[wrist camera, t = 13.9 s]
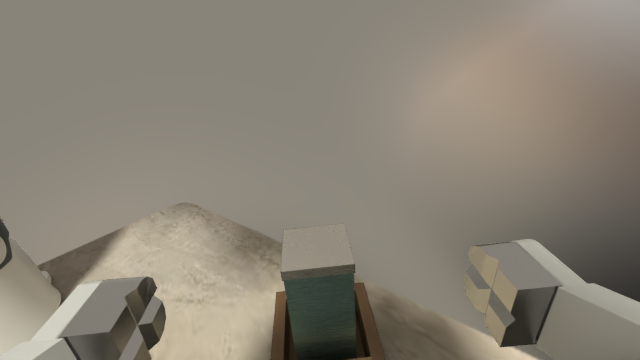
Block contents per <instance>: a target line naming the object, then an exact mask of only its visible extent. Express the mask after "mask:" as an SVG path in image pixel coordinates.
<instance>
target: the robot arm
mask: <svg viewBox="0 0 640 360" xmlns="http://www.w3.org/2000/svg"><path fill="white" fill-rule="evenodd" d="M468 259H469V260H470V261H471V263H472V265H471V266H470V267H469V268H468V269H467V270H466V271H465V276H464V286H465V292H466V294H467V296H468V299H469V301H470V302H471V304H472V305H473V307H474V308H475V309H477V310H478V311H480V312H481V313H483V314H485V319H484V324H485V325H486V327H487V328H488V330H489V331H490V333H491V334H492V336H493V337H494V339H495V340H496V342H497V343H498V345H499V346H500V347H510V346H521V345H535V344H536V347H537V348H539V349H540V350H541V351H543V352H544V353H546V354H547V355H548V356H550V357H551V358H552V359H554V360H640V302H637V301H635V300H632V299H630V298H628V297H625V296H623V295H621V294H618V293H616V292H613V291H611V290H609V289H606V288H604V287H601V286H599V285H597V284H594V283H593V284H587V283H586V282H585V281H583V280H582V279H581V278H580V277H579V276H577V275H576V274H575V273H574V272H573V271H572V270H570V269H569V268H568V267H567V266H565V265H564V264H563V263H562V262H561V261H560V260H558V259H557V258H556V257H555V256H554V255H553V254H551V253H550V252H549V251H548V250H547V249H545V248H544V247H543V246H542V245H541V244H540V243H538V242H537V241H535V240H532V239H525V240H517V241H511V242H503V243H492V244H482V245H473V246H472V247H471V249H470V251H469V255H468ZM156 289H157V287H156V285H155V282H154V280H153V278H150V277H134V278H120V279H107V280H98V281H86V282H84V283H82V284H80V285H78V286H77V287H76V288H75V290H74V291H73V292H72V293H71V294H70V295H69V297H68V298H67V299H66V300H65V301H64V302H63V303H62V305H61V306H60V303H61V294H60V292H59V291H58V290H57V289H56V288H55V287H53V286H52V285H51V276H50V275H49V273H48V272H47V271H40V270H39V268H38V267H37V266H36V265H35V263H34V262H33V261H32V260H31V258H30V257H29V256H28V255H27V253H26V252H25V251H24V250H23V249H22V247H21V246H20V245H19V244H18V243H17V241H16V240H15V239H13V238H11V237H9V232H8V230H7V228H6V227H5V225H4V223H3V220H2V218H1V217H0V360H151V359H152V358H151V355H150V352H149V350H150V349H151V348H152V347H153V346H154V345H155V344H157V343H158V342H159V341H160V338H161V336H162V333H163V331H164V326H165V320H166V314H165V308H164V305H163V302H162V301H161V300H160V299H158V298H157V297H155V296H154V293H155V291H156ZM59 306H60V307H59Z"/></svg>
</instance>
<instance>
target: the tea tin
mask: <svg viewBox="0 0 640 360" xmlns="http://www.w3.org/2000/svg"><path fill="white" fill-rule="evenodd" d="M354 273H355V263H354V258H353V255H352V251H351V247H350V243H349V239H348V236H347V232H346V228H345V224H334V225H325V226H316V227H305V228H295V229H287V230H283V244H282V259H281V277H282V281H284V285H285V291H286V298H287V304H288V310H289V316H290V322H291V328H292V335H293V341H294V347H295V353H296V359H297V360H346V359H355V358H357V351H356V323H355V296H354Z"/></svg>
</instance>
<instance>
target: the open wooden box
mask: <svg viewBox="0 0 640 360" xmlns="http://www.w3.org/2000/svg"><path fill="white" fill-rule="evenodd" d="M354 296H355V323H356V351H357V358H355V359H346V360H385V358H384V355H383V351H382V348H381V344H380V340H379V337H378V333H377V330H376V326H375V322H374V319H373V315H372V312H371V308H370V304H369V301H368V297H367V294H366V290H365V287H364V283H355V284H354ZM271 360H297V359H296V353H295V347H294V341H293V335H292V328H291V322H290V316H289V310H288V304H287V298H286V291H283V292H276V303H275V316H274V328H273V341H272V354H271Z"/></svg>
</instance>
